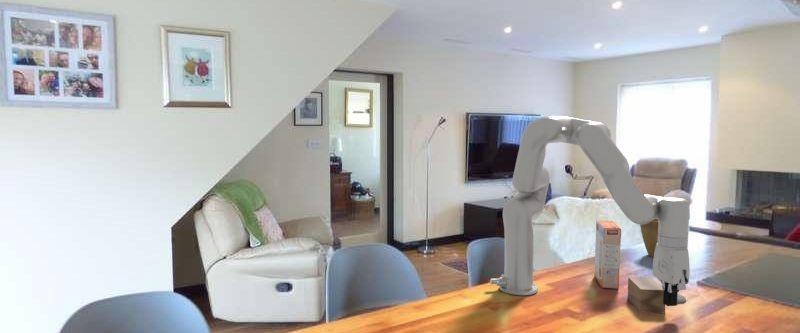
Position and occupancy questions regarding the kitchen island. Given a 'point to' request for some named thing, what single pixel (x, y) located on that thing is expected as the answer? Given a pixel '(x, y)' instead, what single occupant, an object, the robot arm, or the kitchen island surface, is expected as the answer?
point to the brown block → (646, 294)
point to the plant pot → (650, 236)
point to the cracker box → (607, 254)
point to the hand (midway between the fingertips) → (670, 304)
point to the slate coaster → (680, 299)
